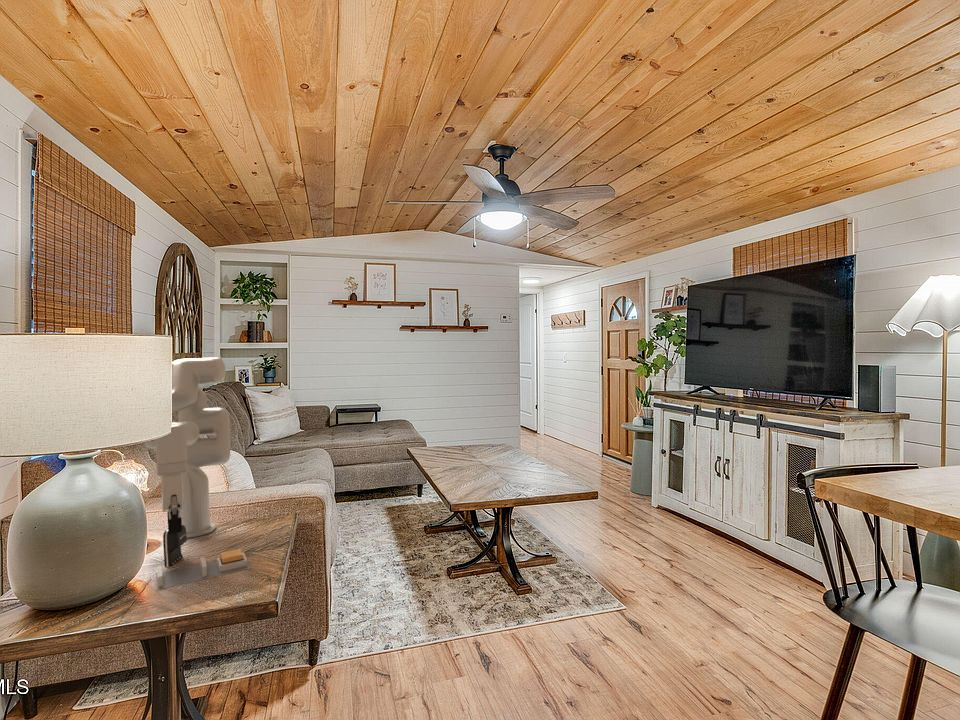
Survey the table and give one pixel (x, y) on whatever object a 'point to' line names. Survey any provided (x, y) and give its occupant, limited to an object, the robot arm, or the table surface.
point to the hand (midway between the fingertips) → (174, 528)
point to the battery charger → (173, 546)
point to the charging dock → (198, 572)
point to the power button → (231, 555)
